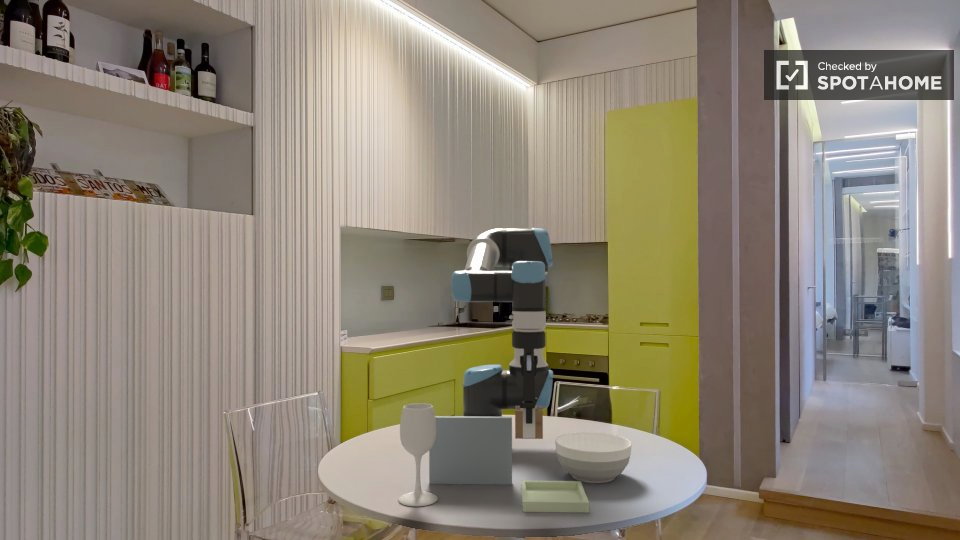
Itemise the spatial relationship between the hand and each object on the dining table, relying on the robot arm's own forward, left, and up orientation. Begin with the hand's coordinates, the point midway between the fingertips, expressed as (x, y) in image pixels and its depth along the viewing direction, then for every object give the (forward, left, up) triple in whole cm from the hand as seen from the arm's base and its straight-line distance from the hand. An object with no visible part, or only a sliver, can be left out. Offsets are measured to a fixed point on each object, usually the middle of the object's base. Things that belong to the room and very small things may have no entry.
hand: (528, 433), depth 139 cm
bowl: (+4, +25, -15) cm, 29 cm away
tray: (+4, +4, -15) cm, 16 cm away
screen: (-18, +3, -15) cm, 23 cm away
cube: (0, 0, 0) cm, 0 cm away
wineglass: (-21, -13, -15) cm, 29 cm away
